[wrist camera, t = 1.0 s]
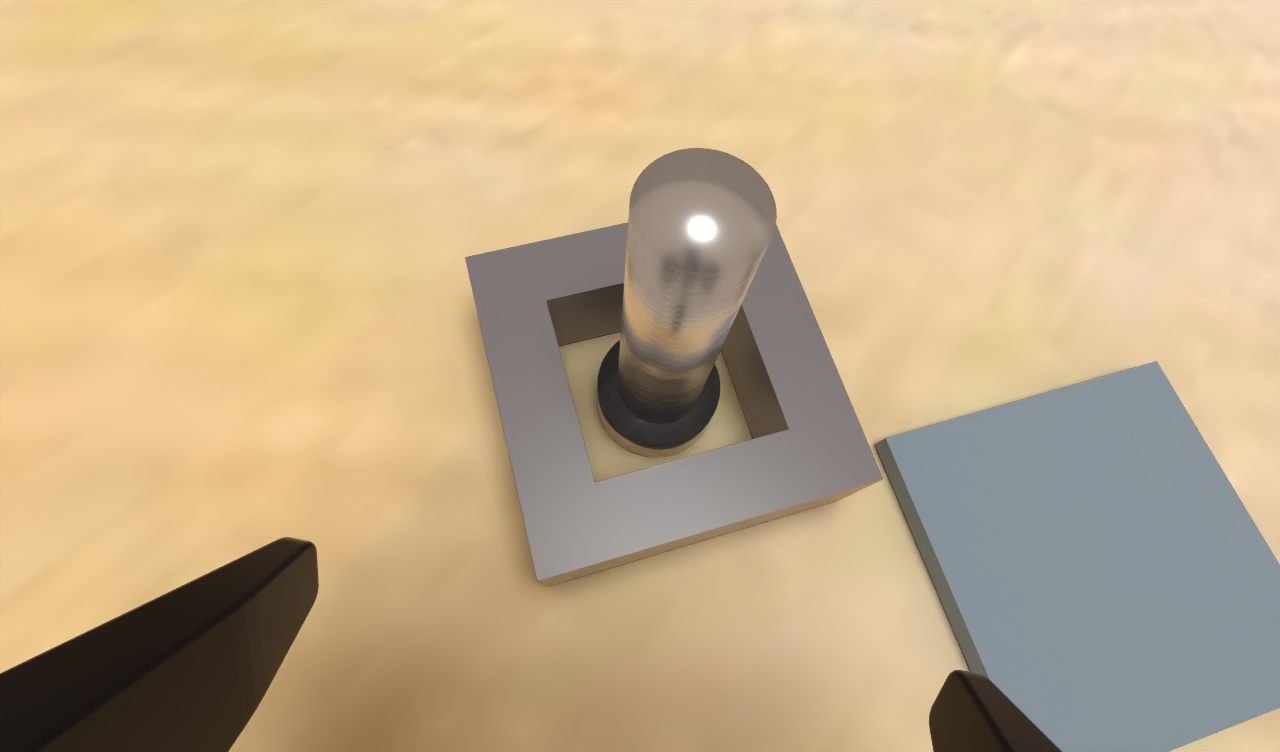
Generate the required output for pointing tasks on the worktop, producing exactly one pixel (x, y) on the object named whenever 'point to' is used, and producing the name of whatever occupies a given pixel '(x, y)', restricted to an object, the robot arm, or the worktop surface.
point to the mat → (1096, 563)
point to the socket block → (682, 489)
